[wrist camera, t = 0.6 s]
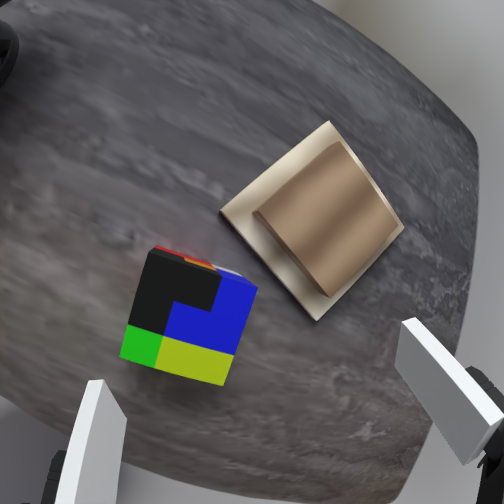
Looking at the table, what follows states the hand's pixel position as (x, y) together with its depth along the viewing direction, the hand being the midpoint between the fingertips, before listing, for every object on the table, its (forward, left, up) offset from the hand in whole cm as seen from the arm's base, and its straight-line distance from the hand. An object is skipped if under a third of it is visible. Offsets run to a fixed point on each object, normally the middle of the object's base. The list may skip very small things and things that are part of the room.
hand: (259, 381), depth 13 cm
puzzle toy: (0, -3, -26) cm, 26 cm away
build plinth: (+4, +16, -25) cm, 30 cm away
